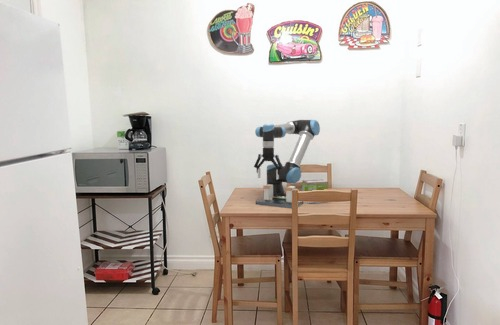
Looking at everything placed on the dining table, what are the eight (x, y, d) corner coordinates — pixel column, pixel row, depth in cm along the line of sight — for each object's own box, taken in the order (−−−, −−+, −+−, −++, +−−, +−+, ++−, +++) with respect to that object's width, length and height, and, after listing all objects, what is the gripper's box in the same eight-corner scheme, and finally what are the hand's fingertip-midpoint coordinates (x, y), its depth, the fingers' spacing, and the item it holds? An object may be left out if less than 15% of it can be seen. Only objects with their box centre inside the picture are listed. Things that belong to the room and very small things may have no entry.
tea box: (308, 204, 235) (308, 182, 233) (301, 200, 245) (302, 179, 243) (328, 202, 239) (328, 181, 237) (321, 199, 249) (321, 178, 247)
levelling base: (265, 199, 250) (265, 193, 249) (302, 203, 237) (303, 197, 237) (255, 204, 235) (255, 198, 235) (295, 208, 223) (295, 202, 223)
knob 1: (267, 198, 244) (267, 183, 243) (274, 198, 242) (274, 183, 241) (262, 200, 237) (262, 185, 235) (269, 201, 235) (269, 186, 233)
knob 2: (289, 200, 237) (289, 185, 236) (296, 201, 235) (296, 185, 234) (284, 203, 230) (284, 187, 228) (292, 203, 228) (292, 188, 226)
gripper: (249, 147, 237) (249, 178, 239) (283, 148, 226) (283, 180, 229) (253, 146, 244) (253, 176, 246) (287, 147, 233) (287, 179, 235)
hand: (268, 178), depth 237 cm, fingers open, 13 cm apart
